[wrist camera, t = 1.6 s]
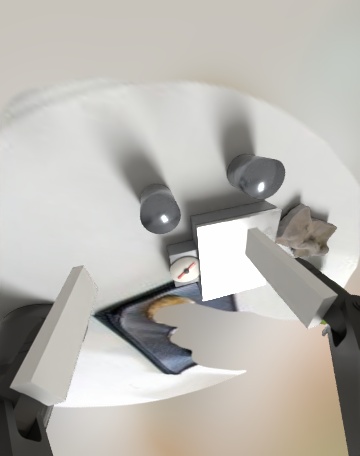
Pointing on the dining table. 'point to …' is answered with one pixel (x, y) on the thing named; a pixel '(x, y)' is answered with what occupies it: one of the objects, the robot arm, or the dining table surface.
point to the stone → (304, 233)
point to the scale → (188, 251)
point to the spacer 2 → (256, 175)
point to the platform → (231, 253)
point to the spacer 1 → (159, 209)
